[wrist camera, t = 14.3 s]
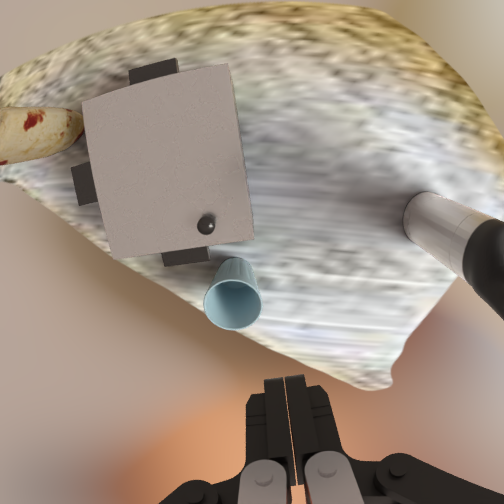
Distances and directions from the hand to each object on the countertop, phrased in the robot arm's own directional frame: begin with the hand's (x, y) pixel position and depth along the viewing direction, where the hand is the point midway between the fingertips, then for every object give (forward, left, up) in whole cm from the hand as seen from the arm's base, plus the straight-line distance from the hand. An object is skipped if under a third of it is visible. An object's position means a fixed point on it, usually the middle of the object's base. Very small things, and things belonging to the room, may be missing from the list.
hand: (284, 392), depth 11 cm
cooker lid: (+12, -8, -27) cm, 30 cm away
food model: (+28, -17, -37) cm, 50 cm away
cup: (+5, +11, -37) cm, 39 cm away
